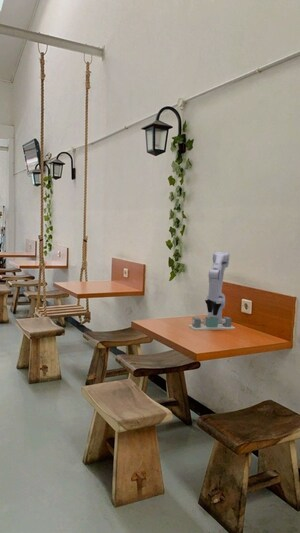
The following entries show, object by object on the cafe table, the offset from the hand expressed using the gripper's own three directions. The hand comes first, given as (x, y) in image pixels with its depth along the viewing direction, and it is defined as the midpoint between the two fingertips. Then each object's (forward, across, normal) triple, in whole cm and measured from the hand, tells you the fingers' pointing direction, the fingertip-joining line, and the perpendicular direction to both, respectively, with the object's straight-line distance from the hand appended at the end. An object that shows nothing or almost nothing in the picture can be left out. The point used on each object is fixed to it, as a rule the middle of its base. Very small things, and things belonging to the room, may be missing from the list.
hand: (212, 313), depth 239 cm
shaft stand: (+8, 0, 0) cm, 8 cm away
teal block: (+7, 0, 0) cm, 7 cm away
